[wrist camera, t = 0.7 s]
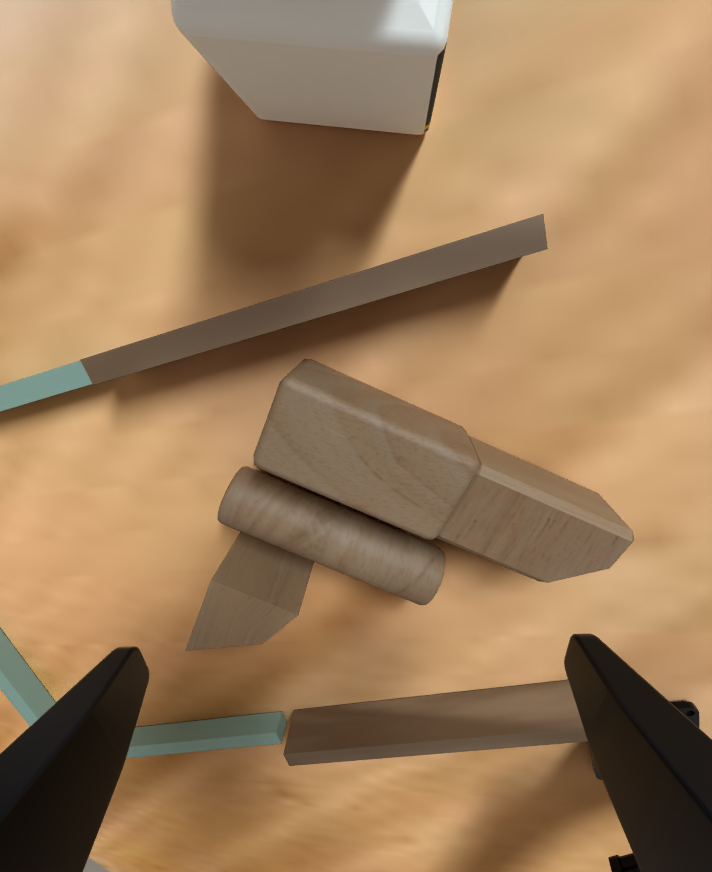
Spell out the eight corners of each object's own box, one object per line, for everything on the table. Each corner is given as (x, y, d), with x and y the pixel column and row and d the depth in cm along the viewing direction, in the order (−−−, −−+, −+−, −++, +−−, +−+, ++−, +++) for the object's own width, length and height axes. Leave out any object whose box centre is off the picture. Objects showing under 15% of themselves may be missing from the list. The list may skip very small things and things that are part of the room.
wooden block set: (253, 370, 16) (663, 550, 17) (289, 346, 21) (600, 485, 22) (157, 657, 22) (461, 774, 23) (203, 583, 27) (449, 682, 28)
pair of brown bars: (585, 691, 27) (606, 739, 24) (299, 721, 31) (289, 765, 28) (520, 223, 18) (543, 213, 15) (121, 348, 21) (79, 359, 19)
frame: (286, 722, 31) (281, 743, 29) (73, 744, 34) (60, 764, 33) (105, 353, 22) (84, 359, 20) (-161, 436, 25) (-193, 446, 24)
